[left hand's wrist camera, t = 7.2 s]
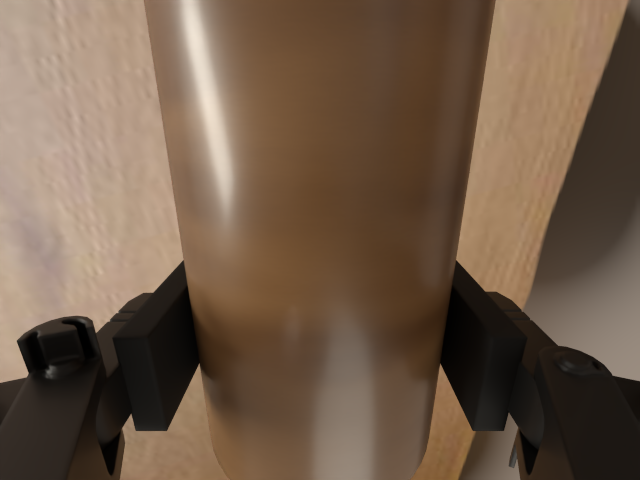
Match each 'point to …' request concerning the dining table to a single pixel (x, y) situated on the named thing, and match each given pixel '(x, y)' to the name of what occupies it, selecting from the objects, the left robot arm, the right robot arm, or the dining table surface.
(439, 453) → the dining table surface
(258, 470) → the rod
